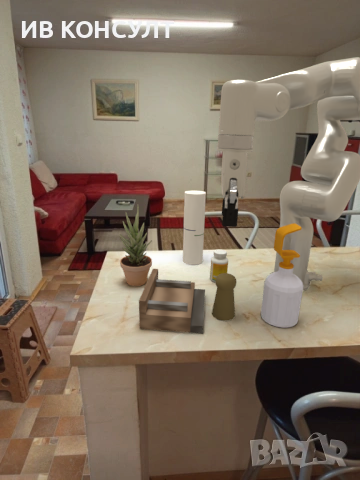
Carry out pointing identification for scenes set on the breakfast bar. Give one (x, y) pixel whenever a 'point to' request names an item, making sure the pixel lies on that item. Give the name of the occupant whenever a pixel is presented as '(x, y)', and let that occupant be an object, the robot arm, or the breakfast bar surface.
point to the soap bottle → (282, 286)
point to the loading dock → (171, 305)
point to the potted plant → (135, 254)
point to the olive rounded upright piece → (224, 297)
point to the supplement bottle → (218, 264)
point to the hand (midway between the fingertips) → (228, 220)
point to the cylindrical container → (193, 227)
